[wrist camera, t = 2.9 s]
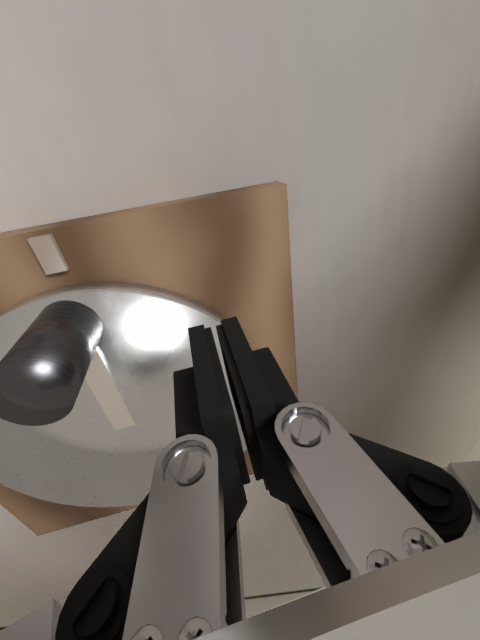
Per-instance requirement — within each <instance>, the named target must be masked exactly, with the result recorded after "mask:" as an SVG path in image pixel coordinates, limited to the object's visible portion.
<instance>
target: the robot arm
mask: <svg viewBox="0 0 480 640" xmlns="http://www.w3.org/2000/svg"><path fill="white" fill-rule="evenodd" d="M216 330H217V334H218V339H219V343H220V347H221V352H222V356H223V361H224V365H225V369H226V374H227V378H228V382H229V387H230V390H231V394H232V398H233V401H234V405H235V408H236V412H237V415H238V419H239V422H240V426H241V429H242V433H243V436H244V440H245V443H246V447H247V450H248V454H249V457H250V461H251V464H252V468H253V471H254V475H255V478H256V481H257V480H260V479H263V480H264V483H265V487H266V490H269V492H270V495H271V496H273V497H275V498H277V499H278V500H280V501H282V502H284V503H285V506H286V509H287V511H288V513H289V515H290V517H291V519H292V521H293V523H294V525H295V527H296V529H297V531H298V533H299V534H300V536H301V538H302V540H303V542H304V544H305V546H306V548H307V550H308V552H309V554H310V556H311V558H312V560H313V562H314V564H315V566H316V568H317V570H318V572H319V574H320V576H321V578H322V580H323V582H324V584H325V586H326V589H324V590H321V591H318V592H316V593H314V594H311V595H308V596H305V597H303V598H300V599H297V600H295V601H292V602H290V603H287V604H284V605H282V606H279V607H276V608H274V609H272V610H269V611H266V612H263V613H261V614H258V615H255V616H253V617H250V618H248V619H246V616H245V602H244V587H243V573H242V558H241V544H240V529H239V522H238V519H239V517H240V515H241V514H242V512H243V510H244V508H245V506H246V504H247V500H246V495H245V490H244V486H243V485H245V484H248V483H250V478H249V474H248V470H247V465H246V461H245V457H244V452H243V448H242V444H241V439H240V435H239V431H238V426H237V422H236V418H235V414H234V410H233V406H232V402H231V398H230V395H229V391H228V388H227V384H226V380H225V377H224V373H223V370H222V366H221V362H220V359H219V355H218V351H217V348H216V344H215V341H214V337H213V333H212V330H211V327H208V328H204V324H203V325H199V326H195V327H191V328H188V334H189V341H190V348H191V355H192V362H193V367H189V368H185V369H182V370H178V371H174V373H173V382H174V406H175V430H176V439H175V440H174V441H172V442H170V443H169V444H168V445H167V446H166V447H165V448H164V449H163V450H162V452H161V453H160V455H159V456H158V458H157V461H156V464H155V467H154V471H153V477H152V482H151V488H150V492H149V493H148V495H147V496H146V497H145V498H144V500H143V501H142V502H141V503H140V505H139V506H138V507H137V508H136V510H135V511H134V512H133V513H132V515H131V516H130V517H129V518H128V520H127V521H126V522H125V523H124V525H123V526H122V527H121V528H120V530H119V531H118V532H117V533H116V535H115V536H114V537H113V538H112V540H111V541H110V542H109V543H108V545H107V546H106V547H105V548H104V550H103V551H102V552H101V553H100V555H99V556H98V557H97V558H96V560H95V561H94V562H93V563H92V565H91V566H90V567H89V568H88V570H87V571H86V572H85V573H84V575H83V576H82V577H81V578H80V580H79V581H78V582H77V583H76V585H75V586H74V588H73V589H72V591H71V592H70V594H69V595H68V596H67V597H65V598H63V599H62V600H60V601H58V602H57V601H55V600H54V599H53V600H51V601H49V602H48V603H46V604H44V605H43V606H41V607H39V608H38V609H36V610H35V611H33V612H31V613H30V614H28V615H26V616H25V617H23V618H21V619H20V620H18V621H16V622H15V623H13V624H12V625H10V626H8V627H7V628H5V629H3V630H2V631H0V640H480V461H472V462H457V463H450V464H449V466H448V467H445V468H440V467H438V466H436V465H434V464H432V463H430V462H427V461H424V460H421V459H419V458H416V457H413V456H410V455H408V454H405V453H402V452H399V451H397V450H394V449H391V448H388V447H386V446H383V445H380V444H377V443H374V442H372V441H369V440H366V439H363V438H361V437H358V436H355V435H352V434H350V433H347V431H346V430H345V429H344V428H343V427H342V426H341V425H340V424H339V422H338V421H337V420H336V419H335V418H334V417H333V416H332V414H331V413H329V412H328V411H327V410H326V409H325V408H323V407H321V406H319V405H317V404H313V403H308V402H299V401H298V399H297V397H296V396H295V394H294V392H293V390H292V388H291V387H290V385H289V383H288V381H287V379H286V378H285V376H284V374H283V372H282V370H281V368H280V367H279V365H278V363H277V361H276V359H275V358H274V356H273V354H272V352H271V350H270V349H269V348H268V347H265V348H261V349H257V350H254V351H252V350H251V347H250V345H249V343H248V341H247V339H246V336H245V334H244V332H243V330H242V328H241V325H240V323H239V321H238V319H237V317H236V316H235V317H231V318H227V319H223V320H221V324H220V325H216Z"/></svg>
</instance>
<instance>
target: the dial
mask: <svg viewBox="0 0 480 640" xmlns="http://www.w3.org/2000/svg"><path fill="white" fill-rule="evenodd" d="M223 319H225V318H223V317H222V316H221V315H220V314H218V313H217V312H215V311H214V310H212V309H210V308H209V307H207V306H206V305H204V304H202V303H200V302H198V301H196V300H194V299H191V298H189V297H187V296H185V295H182V294H179V293H176V292H173V291H170V290H167V289H164V288H159V287H154V286H149V285H144V284H138V283H126V282H89V283H82V284H75V285H68V286H63V287H59V288H56V289H52V290H48V291H45V292H41V293H39V294H36V295H34V296H31V297H29V298H27V299H24V300H22V301H19V302H18V303H16V304H14V305H13V306H11V307H9V308H8V309H6V310H4V311H3V312H1V313H0V484H2V485H4V486H6V487H8V488H10V489H13V490H15V491H17V492H20V493H22V494H25V495H28V496H31V497H34V498H38V499H41V500H45V501H49V502H54V503H60V504H65V505H73V506H83V507H121V506H130V505H138V504H140V503H141V502H142V501H143V500H144V498H145V497H146V496H147V495H148V493H149V492H150V488H151V482H152V477H153V471H154V467H155V464H156V461H157V458H158V456H159V455H160V453H161V452H162V450H163V449H164V448H165V447H166V446H167V445H168V444H169V443H170V442H172V441H174V440H175V439H176V430H175V406H174V382H173V373H174V371H178V370H182V369H185V368H189V367H193V362H192V355H191V348H190V341H189V334H188V328H191V327H195V326H199V325H203V324H204V328H208V327H211V330H212V333H213V337H214V341H215V344H216V348H217V351H218V355H219V359H220V362H221V366H222V370H223V373H224V377H225V380H226V384H227V388H228V391H229V395H230V398H231V402H232V406H233V410H234V414H235V418H236V422H237V426H238V431H239V435H240V439H241V444H242V448H243V452H245V451H246V449H247V447H246V443H245V440H244V436H243V433H242V429H241V426H240V422H239V419H238V415H237V412H236V408H235V405H234V401H233V398H232V394H231V390H230V387H229V382H228V378H227V374H226V369H225V365H224V361H223V356H222V352H221V347H220V343H219V339H218V334H217V330H216V325H220V324H221V320H223Z"/></svg>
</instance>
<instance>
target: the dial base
mask: <svg viewBox="0 0 480 640" xmlns="http://www.w3.org/2000/svg"><path fill="white" fill-rule="evenodd" d="M89 282H126V283H138V284H144V285H149V286H154V287H159V288H164V289H167V290H170V291H173V292H176V293H179V294H182V295H185V296H187V297H189V298H191V299H194V300H196V301H198V302H200V303H202V304H204V305H206V306H207V307H209V308H210V309H212V310H214V311H215V312H217V313H218V314H220V315H221V316H222V317H223V318H225V319H227V318H231V317H235V316H236V317H237V319H238V321H239V323H240V325H241V328H242V330H243V332H244V334H245V336H246V339H247V341H248V343H249V345H250V347H251V350H252V351H254V350H257V349H261V348H265V347H268V348H269V349H270V350H271V352H272V354H273V356H274V358H275V359H276V361H277V363H278V365H279V367H280V368H281V370H282V372H283V374H284V376H285V378H286V379H287V381H288V383H289V385H290V387H291V388H292V390H293V392H294V394H295V396H296V397H297V399H298V396H297V376H296V357H295V338H294V319H293V299H292V280H291V261H290V242H289V222H288V203H287V184H284V183H281V182H277V181H276V182H270V183H265V184H260V185H254V186H249V187H244V188H238V189H233V190H228V191H222V192H217V193H212V194H206V195H201V196H196V197H190V198H185V199H180V200H174V201H169V202H163V203H158V204H153V205H147V206H142V207H137V208H131V209H126V210H121V211H115V212H110V213H105V214H99V215H94V216H89V217H83V218H78V219H73V220H67V221H62V222H57V223H51V224H46V225H40V226H35V227H30V228H24V229H19V230H14V231H8V232H3V233H0V313H1V312H3V311H4V310H6V309H8V308H9V307H11V306H13V305H14V304H16V303H18V302H19V301H22V300H24V299H27V298H29V297H31V296H34V295H36V294H39V293H41V292H45V291H48V290H52V289H56V288H59V287H63V286H68V285H75V284H82V283H89ZM244 457H245V461H246V465H247V470H248V474H249V475H251V474H254V471H253V468H252V464H251V461H250V457H249V454H248V450H247V449H246V451H245V452H244ZM0 504H1V505H2V506H3V507H5V508H6V509H7V510H8V511H9V512H11V513H12V514H13V515H14V516H15V517H16V518H18V519H19V520H20V521H21V522H22V523H24V524H25V525H26V526H27V527H28V528H29V529H31V530H32V531H33V532H34V533H35V534H37V535H38V536H39V535H42V534H46V533H49V532H52V531H56V530H59V529H63V528H66V527H70V526H73V525H77V524H80V523H84V522H87V521H91V520H94V519H98V518H101V517H105V516H108V515H112V514H115V513H119V512H122V511H126V510H129V509H133V508H136V507H138V506H139V505H140V504H138V505H130V506H121V507H83V506H73V505H65V504H60V503H54V502H49V501H45V500H41V499H38V498H34V497H31V496H28V495H25V494H22V493H20V492H17V491H15V490H13V489H10V488H8V487H6V486H4V485H2V484H0Z"/></svg>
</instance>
